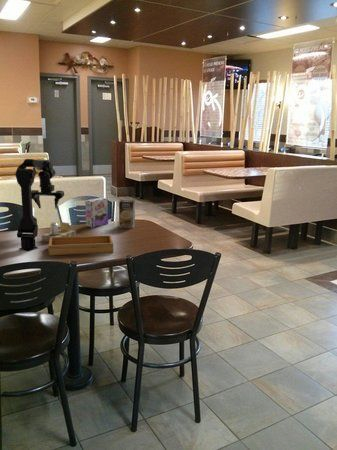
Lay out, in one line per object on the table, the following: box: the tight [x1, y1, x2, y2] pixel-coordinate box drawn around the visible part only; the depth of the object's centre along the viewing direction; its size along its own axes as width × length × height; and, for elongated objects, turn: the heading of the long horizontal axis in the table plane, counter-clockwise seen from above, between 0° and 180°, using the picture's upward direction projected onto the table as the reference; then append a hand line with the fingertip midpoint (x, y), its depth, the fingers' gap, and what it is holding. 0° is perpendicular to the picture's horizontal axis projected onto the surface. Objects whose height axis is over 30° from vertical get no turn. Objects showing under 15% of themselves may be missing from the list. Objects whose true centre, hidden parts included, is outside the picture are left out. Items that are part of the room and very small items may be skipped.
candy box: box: [84, 197, 109, 229], centre depth 250 cm, size 14×6×16 cm, turn 143°
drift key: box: [59, 221, 71, 232], centre depth 225 cm, size 2×5×5 cm, turn 64°
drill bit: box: [49, 222, 59, 236], centre depth 218 cm, size 4×4×9 cm
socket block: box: [41, 228, 77, 243], centre depth 222 cm, size 16×10×3 cm, turn 154°
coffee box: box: [118, 199, 136, 229], centre depth 247 cm, size 9×6×16 cm
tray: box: [47, 234, 114, 256], centre depth 203 cm, size 31×15×6 cm, turn 103°
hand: (48, 208), depth 230 cm, fingers open, 9 cm apart
